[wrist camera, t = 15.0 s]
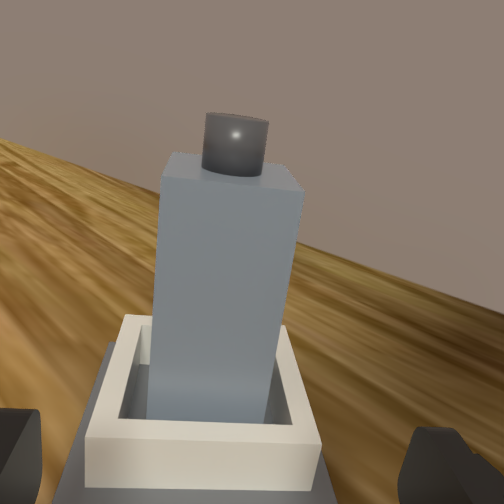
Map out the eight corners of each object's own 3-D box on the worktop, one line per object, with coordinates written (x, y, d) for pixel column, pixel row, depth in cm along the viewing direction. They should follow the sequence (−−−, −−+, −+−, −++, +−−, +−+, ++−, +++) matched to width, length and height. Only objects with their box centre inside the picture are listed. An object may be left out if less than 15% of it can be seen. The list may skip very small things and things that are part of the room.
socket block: (289, 363, 28) (298, 317, 27) (336, 527, 18) (354, 465, 17) (109, 353, 27) (110, 304, 26) (49, 526, 17) (47, 458, 15)
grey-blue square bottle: (249, 381, 25) (291, 119, 20) (257, 452, 20) (315, 134, 15) (156, 376, 24) (176, 104, 19) (144, 448, 19) (164, 114, 14)
